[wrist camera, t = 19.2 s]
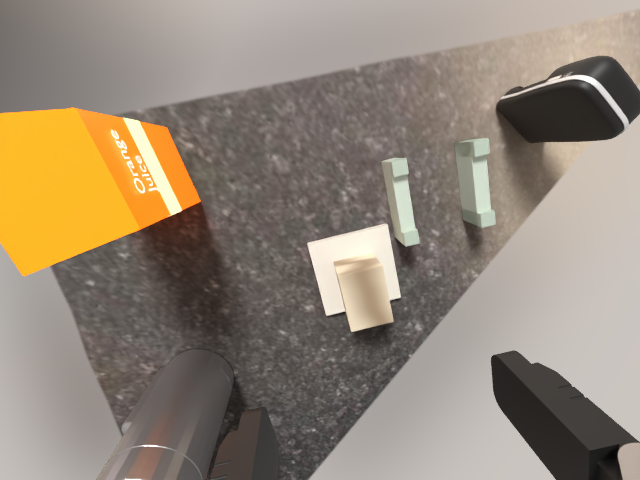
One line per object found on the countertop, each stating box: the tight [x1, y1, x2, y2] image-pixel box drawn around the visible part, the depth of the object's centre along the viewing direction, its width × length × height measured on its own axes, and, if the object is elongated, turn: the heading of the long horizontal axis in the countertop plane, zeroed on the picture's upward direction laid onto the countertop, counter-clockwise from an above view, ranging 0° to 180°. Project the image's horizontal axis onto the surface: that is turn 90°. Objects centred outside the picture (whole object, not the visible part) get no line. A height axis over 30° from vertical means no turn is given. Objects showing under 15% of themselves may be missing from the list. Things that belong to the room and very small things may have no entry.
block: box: [333, 252, 394, 332], centre depth 37 cm, size 5×7×5 cm
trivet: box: [308, 224, 401, 316], centre depth 39 cm, size 10×10×1 cm
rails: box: [381, 138, 496, 246], centre depth 35 cm, size 10×10×4 cm
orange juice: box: [0, 108, 201, 276], centre depth 25 cm, size 8×9×20 cm
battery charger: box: [497, 56, 640, 143], centre depth 30 cm, size 7×4×11 cm, turn 49°
